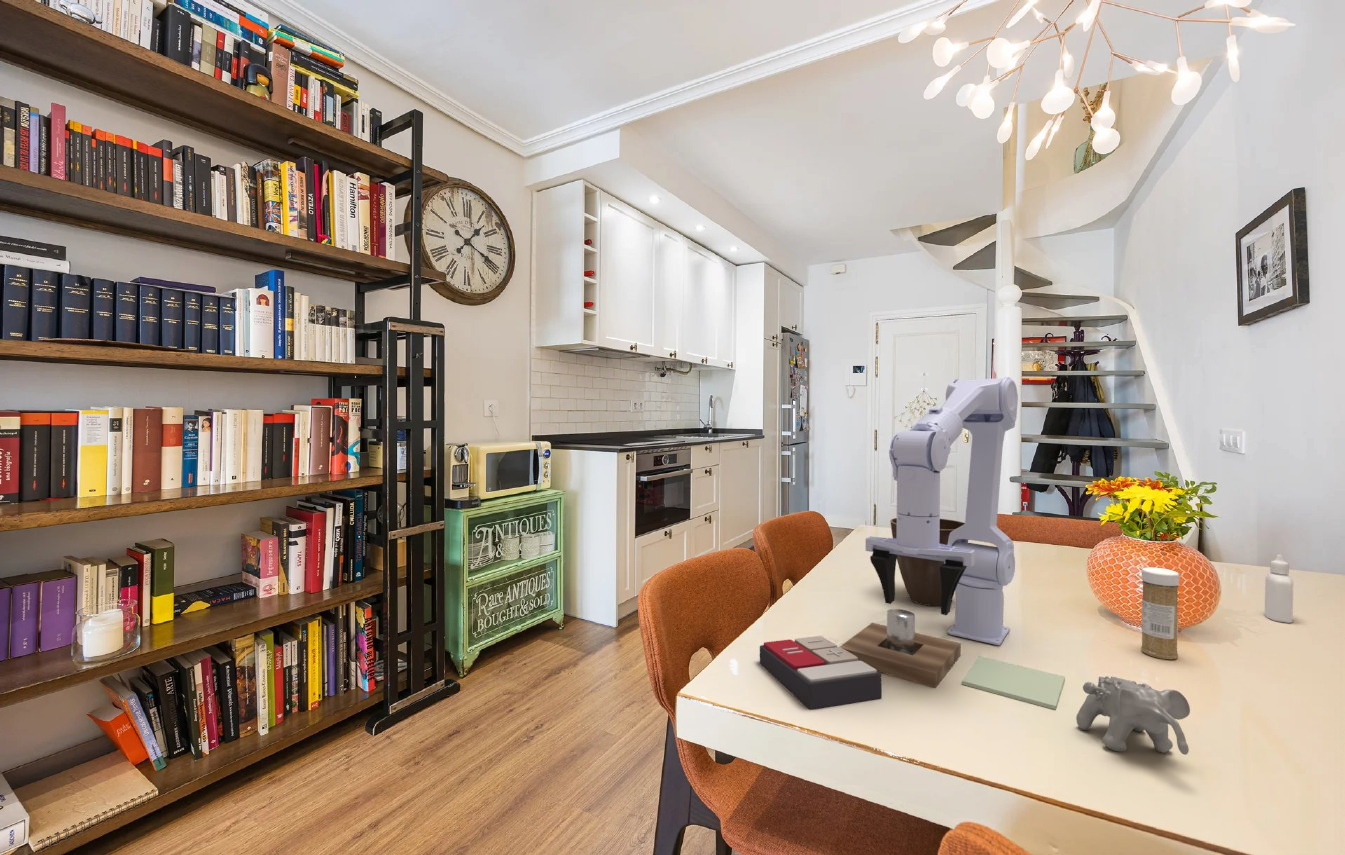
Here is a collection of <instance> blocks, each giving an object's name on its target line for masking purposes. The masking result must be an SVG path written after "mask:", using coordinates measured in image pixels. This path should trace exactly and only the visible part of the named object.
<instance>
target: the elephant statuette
mask: <svg viewBox="0 0 1345 855" xmlns="http://www.w3.org/2000/svg"><path fill="white" fill-rule="evenodd" d="M1082 690H1083V692H1084V693H1085V694H1086V696H1085V700H1084V702H1083V703H1082V705H1081V706H1080V707H1079V710H1078V712H1077V714H1076V717H1075V718H1076V724H1077V726H1078V727H1079V728H1080V729H1081V730H1083V731H1086V730H1089V729H1090V728H1091V727H1092V724H1093V722H1094V721H1095V719H1096V718H1097V717H1098V716H1099V715H1101V716H1103V717H1108V718H1109V720H1108V721H1109V723H1108V729H1107V731H1106V733H1105V734H1104V736H1103V737H1102V744H1103V745H1104V746H1105V747H1106V748H1108V749H1110V750H1111V751H1114V752H1124V751H1126V750H1127V743H1126V740H1127V738H1128V736H1129V735H1130V734H1131V733H1132V732H1131V731H1133V730H1134V731H1135V732H1140V733H1141V732H1144V731H1145V732H1146V734H1147V736H1148V737H1149V738H1150V740H1151V742H1152V745H1153V747H1154V749H1155V750H1156V751H1157V752H1159V753H1162V754H1164V753H1167V752H1168V751H1169V752H1170V750H1171V749H1173V746H1174V744H1173V742H1172V740H1171V739H1170V738H1169V725H1170V726H1171V728H1172V730H1173V731H1174V734H1175V737H1176V745H1177V748H1178V751H1179V752H1180V754H1183V755H1185V756H1186V755H1188V754H1189V751H1190V750H1189V749H1190V748H1189V746H1188V743H1187V738H1186V736H1185V733H1184V731H1183V729H1182V727H1181V725H1180V723H1179V722H1178V721H1180V720H1184V719H1185V718H1187V717H1188V716H1189V715H1190V713H1191V708H1190V703H1189V701H1188V700H1187V698H1186V697H1185V695H1183V694H1182V692H1180V691H1178V690H1175V689H1163V690H1161V691H1160V690H1156V689H1155V688H1152V687H1151V686H1150V685H1149V684H1147V683H1137V682H1136V681H1135V680H1131V679H1130V680H1129V679H1124V678H1121V677H1116V676H1113V675H1112V676H1110V677H1109V676H1107V675H1106V676H1099V677H1098V683H1097V685H1096V684H1095V683H1093V682H1090V681H1087V682H1085V683H1084V684H1083V685H1082Z"/></svg>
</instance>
